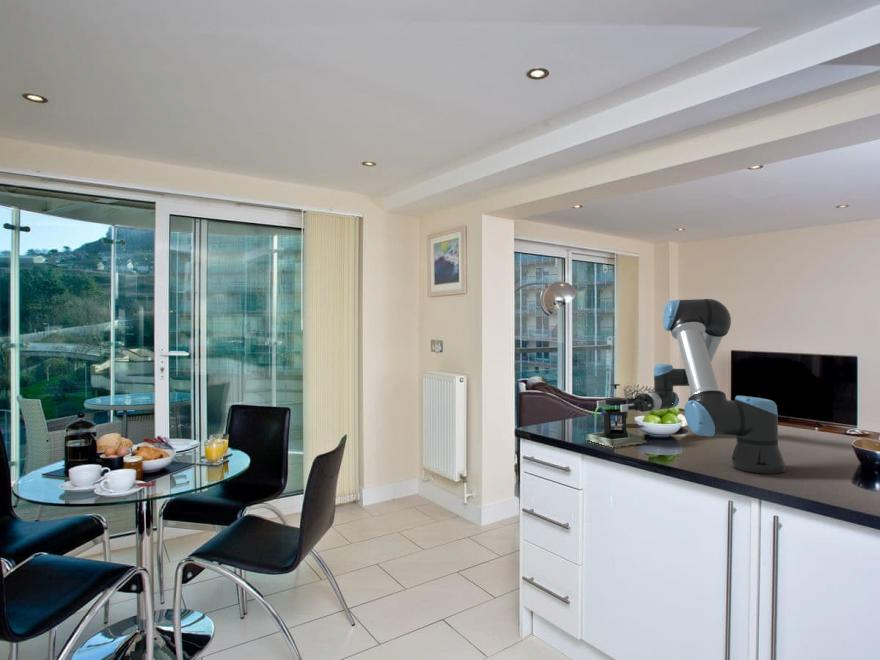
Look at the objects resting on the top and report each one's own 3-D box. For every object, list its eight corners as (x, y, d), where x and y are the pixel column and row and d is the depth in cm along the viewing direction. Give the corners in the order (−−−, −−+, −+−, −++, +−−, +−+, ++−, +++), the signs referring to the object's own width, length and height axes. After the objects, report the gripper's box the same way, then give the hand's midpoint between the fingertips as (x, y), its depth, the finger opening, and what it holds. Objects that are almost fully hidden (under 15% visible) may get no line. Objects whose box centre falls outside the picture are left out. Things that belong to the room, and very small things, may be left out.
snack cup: (597, 428, 241) (596, 406, 241) (592, 423, 251) (592, 403, 251) (631, 427, 239) (630, 406, 239) (625, 423, 250) (624, 402, 250)
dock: (646, 443, 206) (646, 436, 206) (612, 448, 199) (612, 440, 199) (617, 436, 221) (617, 429, 221) (585, 440, 213) (584, 433, 213)
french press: (616, 436, 217) (615, 382, 217) (634, 440, 208) (633, 383, 208) (596, 439, 211) (595, 384, 211) (614, 443, 203) (613, 386, 203)
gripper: (671, 415, 206) (632, 419, 197) (625, 407, 229) (588, 411, 220) (671, 396, 206) (631, 400, 197) (625, 390, 229) (588, 394, 220)
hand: (608, 406), depth 209 cm, fingers open, 13 cm apart
